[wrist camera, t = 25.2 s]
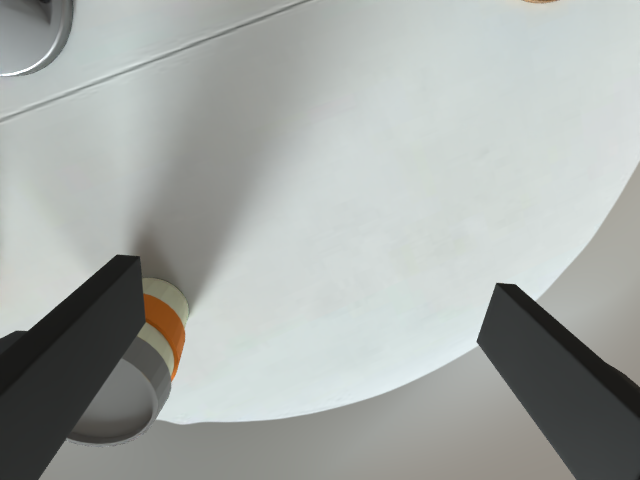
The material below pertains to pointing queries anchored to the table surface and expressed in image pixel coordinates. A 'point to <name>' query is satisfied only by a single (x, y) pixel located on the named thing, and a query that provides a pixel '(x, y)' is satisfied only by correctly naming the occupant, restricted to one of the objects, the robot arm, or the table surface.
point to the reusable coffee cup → (138, 373)
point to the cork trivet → (540, 1)
